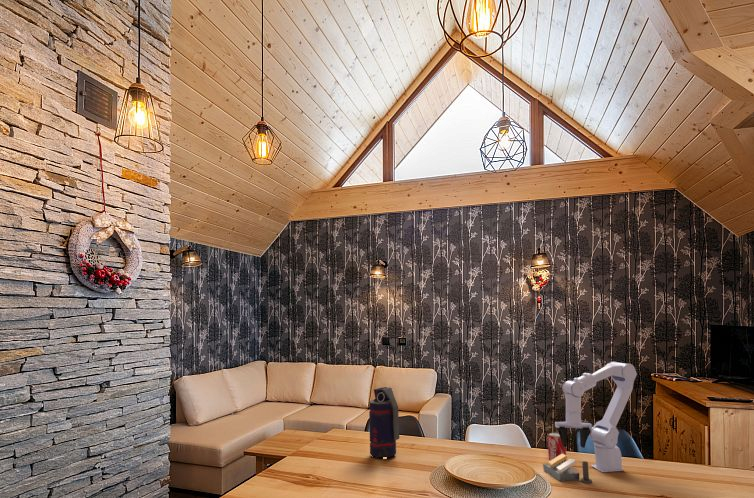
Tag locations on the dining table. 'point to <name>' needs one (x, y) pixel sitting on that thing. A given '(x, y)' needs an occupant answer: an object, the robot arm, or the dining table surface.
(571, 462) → the paddle beige
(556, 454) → the soda can
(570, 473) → the grey tray
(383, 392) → the grenade
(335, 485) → the dining table surface
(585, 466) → the post
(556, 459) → the paddle amber
